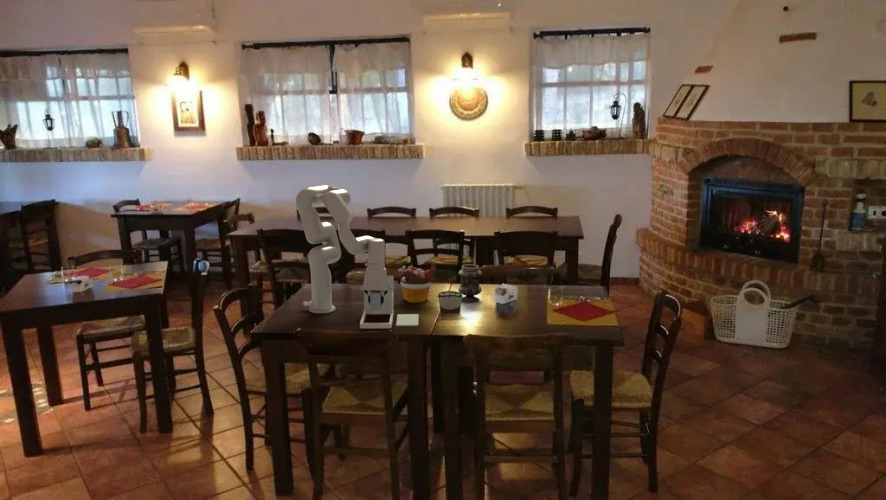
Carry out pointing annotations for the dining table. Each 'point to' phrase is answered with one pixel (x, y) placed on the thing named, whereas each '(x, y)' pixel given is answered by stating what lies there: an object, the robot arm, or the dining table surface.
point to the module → (375, 300)
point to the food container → (450, 302)
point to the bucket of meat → (416, 283)
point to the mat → (407, 320)
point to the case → (385, 307)
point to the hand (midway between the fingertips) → (375, 303)
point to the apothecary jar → (470, 283)
